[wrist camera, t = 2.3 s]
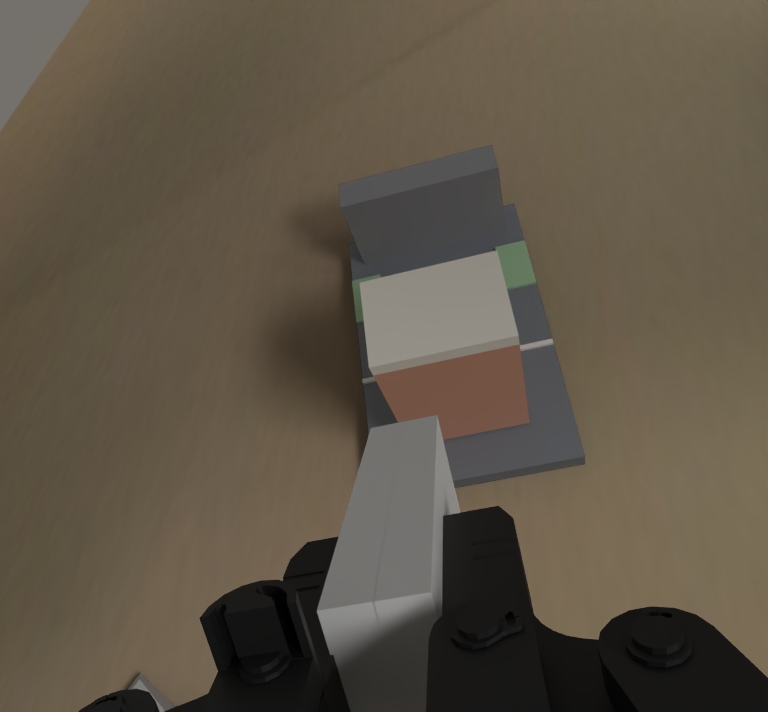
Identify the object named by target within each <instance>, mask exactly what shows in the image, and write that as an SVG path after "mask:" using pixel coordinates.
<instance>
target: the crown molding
mask: <svg viewBox="0 0 768 712" xmlns="http://www.w3.org/2000/svg"><path fill="white" fill-rule="evenodd" d="M130 689H140V690H143V691H147V692H150V694H151V695H152V697H153V698H154V700H155V701H156V704H157V706H158V709H159V712H164V711H167V710H169V709H172V708H174V707H173V705H172V704H171V703H170V702H169V701H168V700H167V699H166V698H165V697H164V696H163V695H162V694H161V693H160V692H159V691H158V690H157V689H156V688H155V687H154V686H153V685H152V684H151V683H150V682H149V681H148V680H147V679H146V678H145V677H144V676H143V675H142V674H141V673H140V674H139V675H138V676H137V678H136V679H135V680H134V682H133V683H132V684H131V686H130V687H129V688H128V690H130Z"/></svg>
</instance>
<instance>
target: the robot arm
mask: <svg viewBox="0 0 768 712" xmlns="http://www.w3.org/2000/svg"><path fill="white" fill-rule="evenodd" d="M200 621H201V624H202V626H203V629H204V632H205V635H206V638H207V641H208V644H209V646H210V649H211V652H212V655H213V658H214V661H215V663H216V666H217V669H218V673H217V675H216V678H215V680H214V682H213V684H212V686H211V689H210V691H209V693H208V694H206V695H204V696H202V697H200V698H198V699H195V700H193V701H190V702H187V703H185V704H182V705H180V706H177V707H174V708H172V709H169V710H167V711H164V712H768V678H767V677H766V676H765V675H764V674H763V673H762V672H761V671H760V670H759V669H758V668H757V667H756V666H755V665H754V664H753V663H752V662H751V661H749V660H748V659H747V658H746V657H745V656H744V655H743V654H742V653H741V652H740V651H739V650H738V649H737V648H736V647H735V646H734V645H733V644H732V643H731V642H730V641H728V640H727V639H726V638H725V637H724V636H723V635H722V634H721V633H720V632H719V631H718V630H717V629H716V628H715V627H714V626H712V625H711V624H709V623H708V622H706V621H705V620H703V619H702V618H700V617H699V616H697V615H695V614H692V613H689V612H686V611H682V610H679V609H676V608H666V607H646V608H640V609H635V610H629V611H627V612H625V613H623V614H621V615H619V616H617V617H615V618H613V619H611V620H610V622H609V623H608V624H607V625H606V626H605V627H604V628H603V629H602V630H601V632H600V636H599V640H594V639H583V638H577V637H571V636H566V635H563V634H561V633H558V632H555V631H553V630H551V629H549V628H548V627H546V626H545V625H543V624H542V623H541V622H540V621H539V620H538V619H537V618H536V617H535V616H534V613H533V608H532V603H531V598H530V593H529V588H528V584H527V579H526V575H525V570H524V566H523V561H522V556H521V552H520V547H519V543H518V538H517V534H516V529H515V525H514V520H513V518H512V517H511V516H510V515H509V514H508V513H506V512H505V511H504V510H503V509H502V508H500V507H499V506H495V507H489V508H484V509H478V510H473V511H467V512H462V513H460V509H459V504H458V500H457V496H456V492H455V488H454V483H453V479H452V475H451V471H450V467H449V463H448V458H447V454H446V450H445V446H444V442H443V437H442V433H441V429H440V425H439V421H438V416H437V415H434V416H429V417H424V418H419V419H414V420H409V421H404V422H399V423H394V424H389V425H384V426H379V427H374V428H371V430H370V433H369V436H368V440H367V443H366V446H365V450H364V453H363V457H362V460H361V463H360V467H359V470H358V473H357V477H356V480H355V483H354V487H353V490H352V494H351V497H350V500H349V504H348V507H347V510H346V514H345V517H344V521H343V524H342V527H341V531H340V534H339V537H334V538H329V539H323V540H317V541H312V542H307V543H306V544H305V545H304V546H303V547H302V548H301V549H300V550H299V551H298V552H297V553H296V554H295V555H294V556H293V557H292V558H291V559H290V562H289V564H288V567H287V569H286V572H285V574H284V577H283V581H280V580H265V581H258V582H254V583H251V584H247V585H244V586H241V587H239V588H237V589H235V590H233V591H231V592H229V593H227V594H225V595H223V596H222V597H221V598H219V599H218V600H217V601H215V602H214V603H213V604H211V605H210V606H209V607H208V608H207V610H206V611H205V612H204V613H203V615H202V616H201V617H200ZM79 712H159V709H158V706H157V704H156V701H155V700H154V698H153V697H152V695H151V694H150V692H147V691H143V690H140V689H130V690H121V691H117V692H114V693H111V694H109V695H105V696H103V697H101V698H98V699H97V700H95V701H94V702H93V703H91V704H89V705H88V706H86V707H84V708H83V709H81V710H80V711H79Z"/></svg>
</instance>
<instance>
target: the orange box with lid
mask: <svg viewBox="0 0 768 712" xmlns="http://www.w3.org/2000/svg"><path fill="white" fill-rule="evenodd" d="M360 292H361V301H362V310H363V319H364V328H365V337H366V346H367V355H368V364H369V369H370V371H371V373H372V374H373V376H374V378H375V380H376V382H377V384H378V386H379V388H380V389H381V391H382V393H383V395H384V397H385V399H386V401H387V403H388V404H389V406H390V408H391V410H392V412H393V414H394V416H395V417H396V419H397V421H398V423H399V422H404V421H409V420H414V419H419V418H424V417H429V416H434V415H437V416H438V421H439V425H440V429H441V433H442V437H443V440H445V439H450V438H455V437H460V436H465V435H471V434H476V433H481V432H486V431H491V430H496V429H501V428H506V427H511V426H516V425H522V424H527V423H530V421H529V413H528V405H527V398H526V390H525V382H524V374H523V366H522V358H521V351H520V343H519V335H518V331H517V327H516V323H515V319H514V315H513V311H512V307H511V303H510V299H509V295H508V291H507V287H506V283H505V279H504V275H503V272H502V268H501V264H500V260H499V256H498V252H497V250H496V251H492V252H488V253H483V254H479V255H475V256H471V257H466V258H462V259H458V260H454V261H449V262H445V263H441V264H437V265H432V266H428V267H424V268H419V269H415V270H411V271H407V272H402V273H398V274H394V275H390V276H385V277H381V278H377V279H373V280H368V281H364V282H360Z"/></svg>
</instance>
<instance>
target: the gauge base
mask: <svg viewBox="0 0 768 712" xmlns="http://www.w3.org/2000/svg"><path fill="white" fill-rule="evenodd" d="M338 189H339V199H340V208H341V210H342V212H343V215H344V217H345V219H346V222H347V224H348V226H349V229H350V231H351V233H352V236H353V238H354V240H355V243H351V244H349V251H350V261H351V270H352V280H353V281H352V286H353V296H354V305H355V315H356V323H357V328H358V338H359V348H360V357H361V367H362V376H363V379H362V383H363V386H364V396H365V405H366V415H367V425H368V434H369V433H370V430H371V428H374V427H379V426H384V425H389V424H394V423H398V421H397V419H396V417H395V416H394V414H393V412H392V410H391V408H390V406H389V404H388V403H387V401H386V399H385V397H384V395H383V393H382V391H381V389H380V388H379V386H378V384H377V382H376V380H375V378H374V376H373V374H372V373H371V371H370V369H369V364H368V355H367V346H366V337H365V328H364V319H363V310H362V301H361V292H360V282H364V281H368V280H373V279H377V278H381V277H385V276H390V275H394V274H398V273H402V272H407V271H411V270H415V269H419V268H424V267H428V266H432V265H437V264H441V263H445V262H449V261H454V260H458V259H462V258H466V257H471V256H475V255H479V254H483V253H488V252H492V251H496V250H497V252H498V256H499V260H500V264H501V268H502V272H503V275H504V279H505V283H506V287H507V291H508V295H509V299H510V303H511V307H512V311H513V315H514V319H515V323H516V327H517V331H518V335H519V343H520V351H521V358H522V366H523V374H524V382H525V390H526V398H527V405H528V413H529V421H530V423H527V424H522V425H516V426H511V427H506V428H501V429H496V430H491V431H486V432H481V433H476V434H471V435H465V436H460V437H455V438H450V439H445V440H443V442H444V446H445V450H446V454H447V458H448V463H449V467H450V471H451V475H452V479H453V483H454V488H458V487H463V486H468V485H474V484H479V483H485V482H490V481H495V480H501V479H506V478H512V477H517V476H522V475H528V474H533V473H539V472H544V471H549V470H555V469H560V468H566V467H571V466H576V465H582V464H585V454H584V451H583V447H582V443H581V440H580V436H579V433H578V429H577V426H576V422H575V419H574V415H573V411H572V408H571V404H570V401H569V397H568V394H567V390H566V387H565V383H564V379H563V376H562V372H561V369H560V365H559V362H558V358H557V355H556V351H555V347H554V342H553V339H552V337H551V333H550V330H549V326H548V323H547V319H546V315H545V312H544V308H543V305H542V301H541V298H540V294H539V291H538V287H537V283H536V279H535V275H534V271H533V268H532V264H531V261H530V257H529V254H528V250H527V247H526V243H525V240H524V237H523V234H522V230H521V226H520V223H519V219H518V216H517V212H516V209H515V205H514V204H511V205H507V206H503V202H502V194H501V186H500V178H499V170H498V165H497V161H496V158H495V154H494V151H493V147H492V145H489V146H486V147H482V148H478V149H474V150H470V151H466V152H462V153H458V154H455V155H451V156H447V157H443V158H439V159H435V160H431V161H428V162H424V163H420V164H416V165H412V166H408V167H404V168H400V169H397V170H393V171H389V172H385V173H381V174H377V175H373V176H369V177H366V178H362V179H358V180H354V181H350V182H346V183H342V184H338Z"/></svg>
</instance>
